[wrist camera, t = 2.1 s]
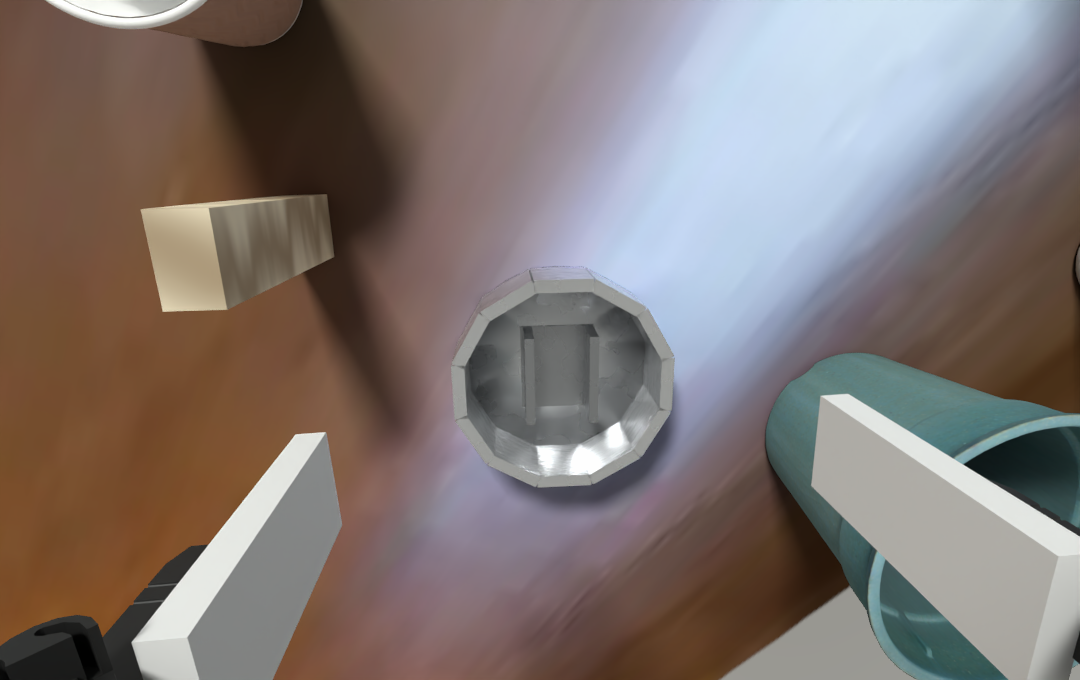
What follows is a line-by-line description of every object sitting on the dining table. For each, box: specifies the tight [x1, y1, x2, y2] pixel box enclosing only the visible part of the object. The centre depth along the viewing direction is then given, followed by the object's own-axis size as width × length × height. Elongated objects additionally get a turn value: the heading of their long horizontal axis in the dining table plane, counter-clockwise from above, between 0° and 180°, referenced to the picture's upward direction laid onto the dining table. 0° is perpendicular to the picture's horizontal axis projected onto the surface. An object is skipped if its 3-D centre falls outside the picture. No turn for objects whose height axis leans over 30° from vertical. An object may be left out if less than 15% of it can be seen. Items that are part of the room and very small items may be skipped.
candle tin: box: [451, 266, 675, 488], centre depth 37 cm, size 14×14×5 cm
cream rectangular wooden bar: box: [141, 194, 334, 311], centre depth 29 cm, size 4×2×15 cm, turn 1°
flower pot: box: [766, 353, 1080, 680], centre depth 35 cm, size 16×16×16 cm
